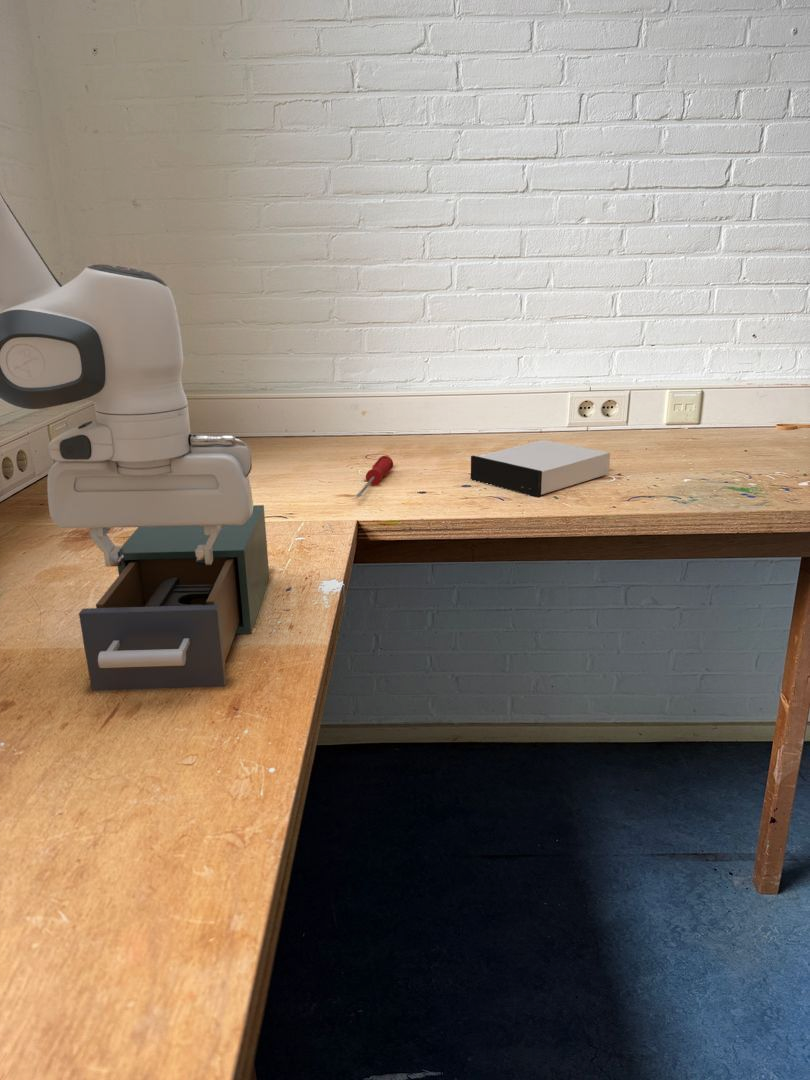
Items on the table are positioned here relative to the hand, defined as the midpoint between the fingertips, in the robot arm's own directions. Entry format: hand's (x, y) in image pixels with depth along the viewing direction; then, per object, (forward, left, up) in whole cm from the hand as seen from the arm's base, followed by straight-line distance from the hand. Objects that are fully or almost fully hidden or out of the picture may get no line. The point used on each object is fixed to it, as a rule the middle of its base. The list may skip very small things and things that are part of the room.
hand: (160, 564), depth 85 cm
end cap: (+1, 0, -10) cm, 10 cm away
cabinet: (0, +16, -12) cm, 21 cm away
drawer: (0, -1, -11) cm, 11 cm away
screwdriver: (+22, +72, -12) cm, 76 cm away
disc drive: (+56, +75, -12) cm, 95 cm away
